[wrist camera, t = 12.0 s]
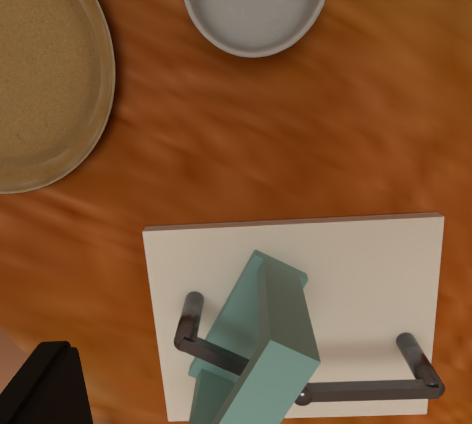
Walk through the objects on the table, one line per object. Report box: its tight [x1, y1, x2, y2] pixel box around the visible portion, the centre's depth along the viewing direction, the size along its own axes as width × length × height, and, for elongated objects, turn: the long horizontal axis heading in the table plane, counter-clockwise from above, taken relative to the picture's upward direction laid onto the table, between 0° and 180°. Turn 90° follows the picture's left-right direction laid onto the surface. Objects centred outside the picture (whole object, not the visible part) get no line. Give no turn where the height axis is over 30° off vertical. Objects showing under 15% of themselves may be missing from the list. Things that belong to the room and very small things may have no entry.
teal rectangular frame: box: [188, 249, 321, 424], centre depth 40 cm, size 6×16×15 cm, turn 154°
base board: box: [142, 212, 444, 421], centre depth 48 cm, size 30×24×2 cm
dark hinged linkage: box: [174, 291, 445, 406], centre depth 43 cm, size 25×5×8 cm, turn 79°
